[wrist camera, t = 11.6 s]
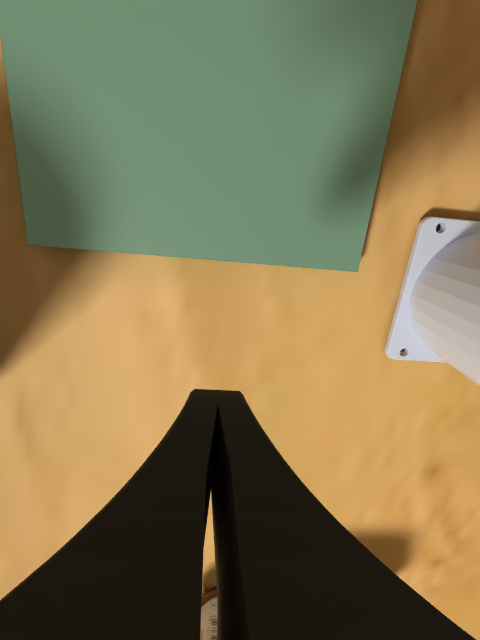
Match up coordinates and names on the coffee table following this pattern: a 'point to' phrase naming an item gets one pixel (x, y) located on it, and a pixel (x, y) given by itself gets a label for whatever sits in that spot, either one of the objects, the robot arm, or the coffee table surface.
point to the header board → (203, 124)
